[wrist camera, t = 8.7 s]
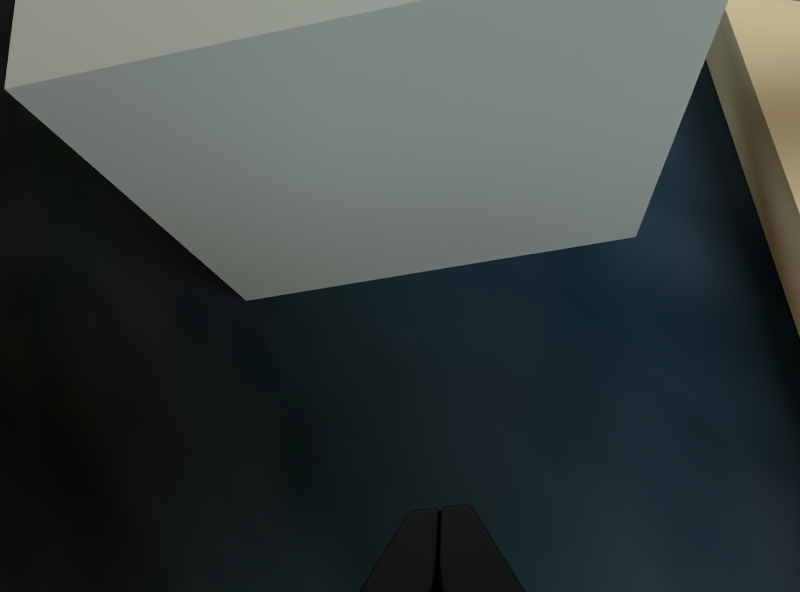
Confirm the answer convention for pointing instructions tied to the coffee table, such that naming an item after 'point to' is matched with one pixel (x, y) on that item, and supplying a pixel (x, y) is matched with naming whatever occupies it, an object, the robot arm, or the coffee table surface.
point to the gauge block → (367, 123)
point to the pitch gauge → (765, 119)
